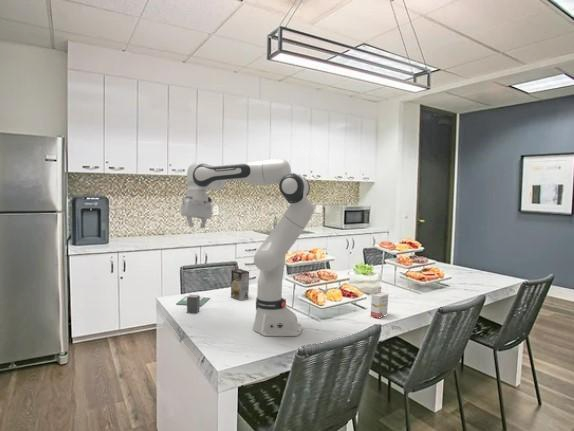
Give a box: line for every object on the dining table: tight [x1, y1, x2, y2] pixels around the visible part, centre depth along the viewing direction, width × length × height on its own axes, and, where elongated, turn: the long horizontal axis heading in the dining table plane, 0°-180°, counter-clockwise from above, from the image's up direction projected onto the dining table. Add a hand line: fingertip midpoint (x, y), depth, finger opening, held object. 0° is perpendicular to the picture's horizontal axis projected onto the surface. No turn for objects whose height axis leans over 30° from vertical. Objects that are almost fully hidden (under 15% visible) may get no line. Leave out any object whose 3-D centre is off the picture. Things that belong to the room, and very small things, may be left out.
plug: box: [186, 294, 201, 315], centre depth 187 cm, size 5×4×8 cm
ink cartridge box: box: [370, 286, 389, 319], centre depth 190 cm, size 9×5×15 cm, turn 135°
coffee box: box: [230, 268, 250, 302], centre depth 212 cm, size 9×6×16 cm
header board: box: [175, 295, 211, 307], centre depth 203 cm, size 14×14×2 cm
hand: (197, 227), depth 172 cm, fingers open, 8 cm apart
